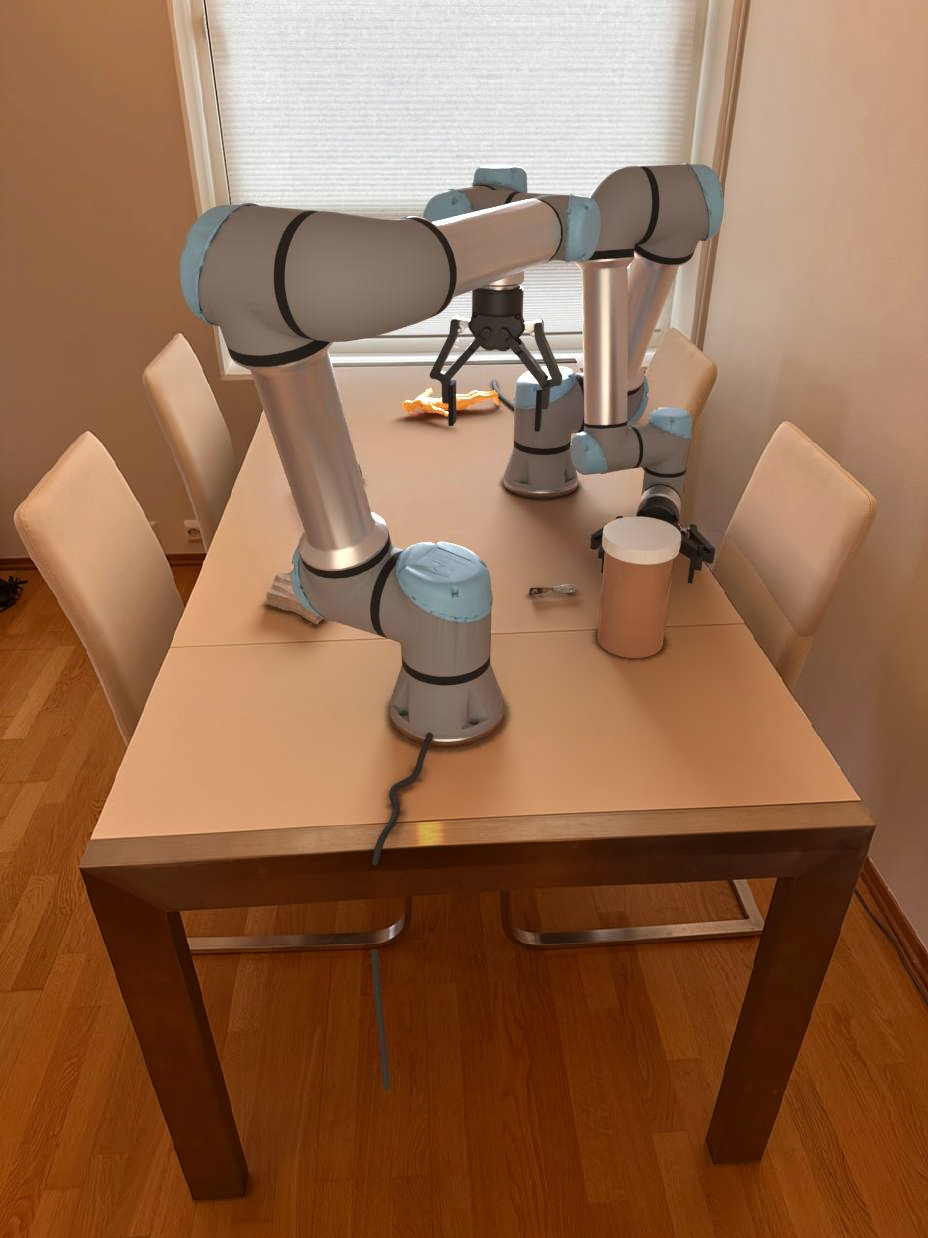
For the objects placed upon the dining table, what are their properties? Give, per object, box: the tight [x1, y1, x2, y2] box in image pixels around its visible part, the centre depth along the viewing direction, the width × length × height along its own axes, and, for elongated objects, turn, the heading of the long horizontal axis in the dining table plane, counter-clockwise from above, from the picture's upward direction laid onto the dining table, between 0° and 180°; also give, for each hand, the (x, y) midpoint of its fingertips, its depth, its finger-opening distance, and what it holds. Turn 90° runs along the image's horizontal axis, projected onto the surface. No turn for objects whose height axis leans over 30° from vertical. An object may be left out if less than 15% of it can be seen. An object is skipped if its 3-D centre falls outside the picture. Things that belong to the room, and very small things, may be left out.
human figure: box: [402, 385, 500, 417], centre depth 225 cm, size 20×20×4 cm
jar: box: [596, 551, 675, 659], centre depth 131 cm, size 10×10×18 cm
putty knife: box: [528, 583, 577, 596], centre depth 147 cm, size 1×8×2 cm, turn 103°
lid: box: [602, 516, 681, 564], centre depth 127 cm, size 11×11×2 cm
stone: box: [265, 571, 325, 625], centre depth 145 cm, size 13×12×2 cm
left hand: (494, 426), depth 141 cm, fingers open, 13 cm apart
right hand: (647, 570), depth 141 cm, fingers open, 13 cm apart
